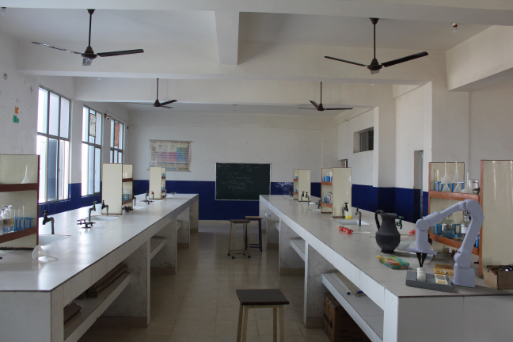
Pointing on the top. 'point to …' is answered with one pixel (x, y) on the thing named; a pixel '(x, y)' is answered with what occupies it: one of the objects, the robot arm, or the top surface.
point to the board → (429, 281)
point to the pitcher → (387, 232)
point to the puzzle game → (393, 262)
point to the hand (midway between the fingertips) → (421, 267)
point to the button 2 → (421, 277)
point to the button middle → (421, 271)
